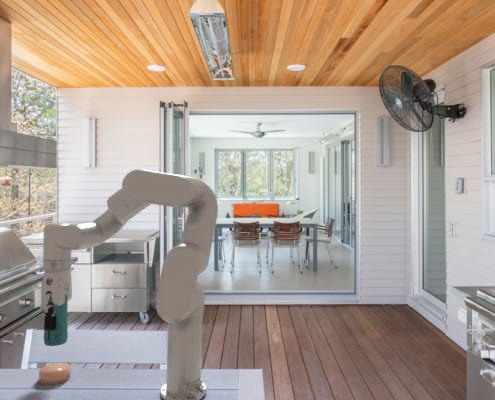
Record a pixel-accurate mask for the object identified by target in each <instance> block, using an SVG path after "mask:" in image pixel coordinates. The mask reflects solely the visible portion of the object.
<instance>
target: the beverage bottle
mask: <svg viewBox="0 0 495 400" xmlns="http://www.w3.org/2000/svg"><path fill="white" fill-rule="evenodd" d="M68 302H69V301H68V294H67V295H65V303H64V304H62V305H61V306H57V309H56V314H55V316H57V324H56V329H55V330H45V329H44V328H43V342H44V345H45V346H48V347H58V346H61V345H62V346H63V345H65V344H66V343H67V341H68V336H69V335H68V329H69V327H68V326H69V325H68V323H69V322H68V307H67V305H69V304H68ZM49 305H54V303H50V304H49ZM49 308H51V310H52V311H53V307H49Z"/></svg>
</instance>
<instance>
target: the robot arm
mask: <svg viewBox="0 0 495 400" xmlns="http://www.w3.org/2000/svg"><path fill="white" fill-rule="evenodd" d="M218 203H219V202H218V200H217V197H216V194H215V192H214V191H213V189H212V188H211V187H210V186H209V185H208V184H207V183H205V181H203V180H201V179H199V178H197V177H192V176H188V175H182V174H175V173H174V174H173V173H166V172H159V171H153V170H149V169H142V168H136V169H133V170H131V171H129V172H128V173H127V174H126V175H125V176H124V177H123V179H122V182H121V188H120V189H119V190H116V192H115V193H113V194H111V195H110V196H109V197H107V200H106V204H107V210H105V211H104V213H102V214H101V215H99V216H98V217H96V219H94V220H93V221H91V222H82V223H73V224H69V223H63V222H52V223H51V222H50V223H47V224H45V225H44V228H43V243H42V244H43V246H42V247H43V248H42V251H43V254H42V271H43V272H44V273H43V282H42V290H41V291H42V293H41V297H42V298H41V300H42V305H41V309H42V311H43V316H44V317H43V318H44V325H43V326H44V328H43V330H44V329H45V330H55V329H56V324H57V316H55V314H56V309H57V306H61V305H62V304H64V303H65V295H67V294H68V302H69V301H70V300H71V299H72V297H73V296H72V295H73V291H72V289H73V288H72V287H73V285H72V271H71V270H72V251H81V250H85V249H89V248H95V247H98V246H101V244H103V243H105V242H106V241H108V240H109V239H111V238H112V237H113V236H115V235H116V234H118V232H120V231H121V230H122V228H124V226H125V225H126V224H127V222H129V221H130V220H131V219H132V218H134V217H135V216H136V215H138V214H139V213H140V212H142V211H143V210H145V209H147V208H148V207H149V206H150V205H158V206H164V207H169V208H170V207H171V208H177V209H178V208H179V209H180V208H182V209H183V208H187V209H188V210H187V211H188V213H187V216H186V219H185V222H184V224H183V231H182V235H181V238H180V243H179V244H177V245H175V246H173V247H172V248H171V249H170V250H169V251H168V252H167V254H166V255H165V258H164V260H163V264H162V268H161V271H160V276H159V283H158V286H157V293H156V297H155V309H156V312H157V314H158V316H159V317H160V318H161V319H162V321H164V322H166V323H167V332H166V333H167V335H166V378H165V379H166V383H165V384H163V385H162V386H161V387H160V397H161V398H162V399H164V400H201V399H202V398H203V397H204V396H205V395H206V393H207V386H206V384H205V383H204V382H203V378H202V341H203V340H202V339H203V338H202V337H203V318H204V317H203V316H204V309H205V300H206V299H205V295H206V294H205V291H204V288H203V285H202V284H201V283H200V282H199V281H198V277H199V275H202V273H203V272H204V271H206V270H207V268H208V267H209V262H210V256H211V251H212V247H213V242H214V236H215V229H216V224H217V220H218V216H219V215H218V214H219V207H218V206H219V205H218ZM50 303H54V305H49V304H50ZM68 305H69V304H68ZM68 305H67V308H68ZM49 307H53V311H52V310H51V308H49Z"/></svg>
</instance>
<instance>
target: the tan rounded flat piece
mask: <svg viewBox="0 0 495 400" xmlns="http://www.w3.org/2000/svg"><path fill="white" fill-rule="evenodd" d="M71 370H72V369H71V364H69V363H66V362H54V363H50V364H46V365H44V366H43V367H41V368H40V369H39V371H38V383H39V384H40V385H43V386H56V385H59V384H63V383H66V382H67V381H69V380H70V379H71V376H72V375H71ZM69 378H70V379H69ZM68 379H69V380H68Z"/></svg>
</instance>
